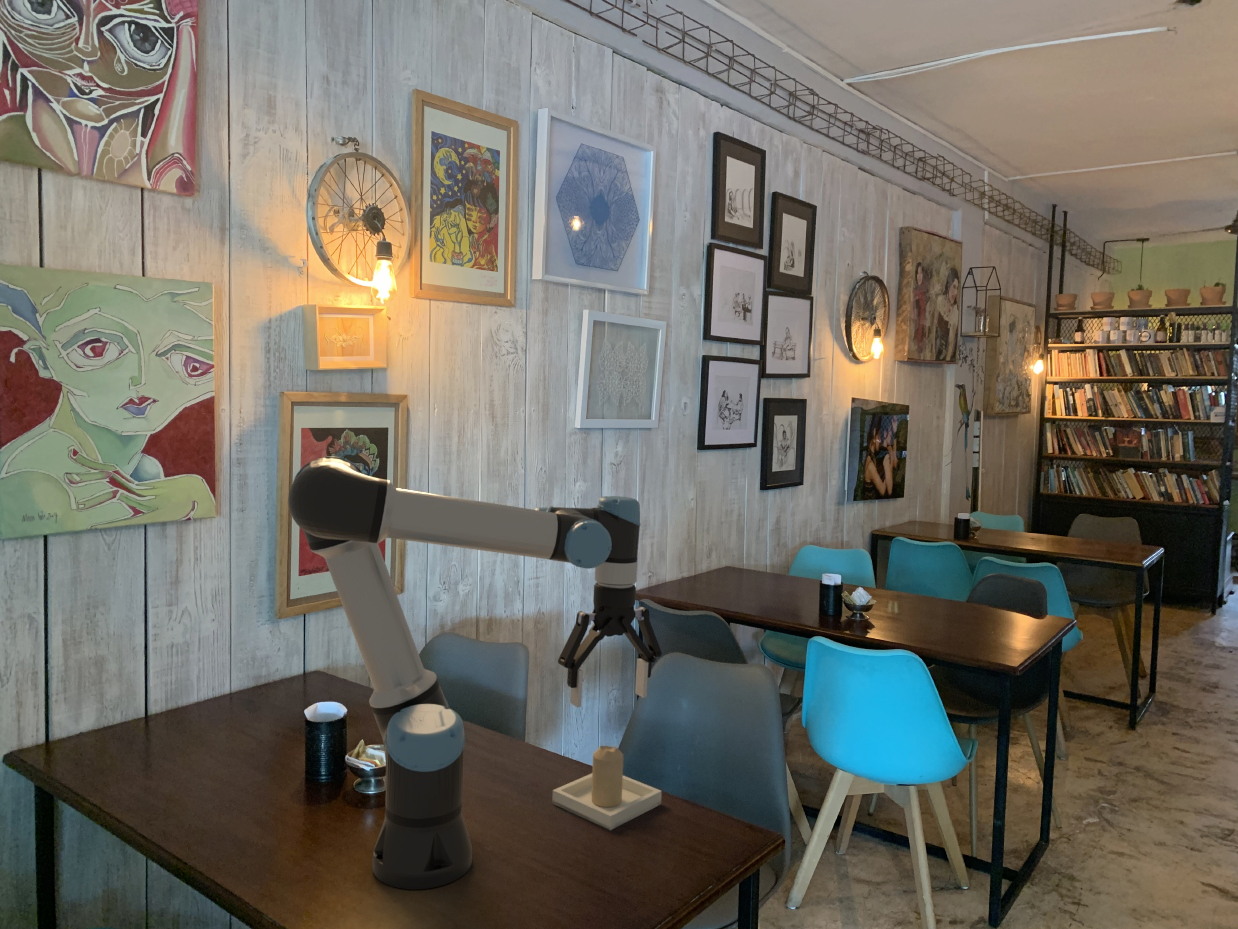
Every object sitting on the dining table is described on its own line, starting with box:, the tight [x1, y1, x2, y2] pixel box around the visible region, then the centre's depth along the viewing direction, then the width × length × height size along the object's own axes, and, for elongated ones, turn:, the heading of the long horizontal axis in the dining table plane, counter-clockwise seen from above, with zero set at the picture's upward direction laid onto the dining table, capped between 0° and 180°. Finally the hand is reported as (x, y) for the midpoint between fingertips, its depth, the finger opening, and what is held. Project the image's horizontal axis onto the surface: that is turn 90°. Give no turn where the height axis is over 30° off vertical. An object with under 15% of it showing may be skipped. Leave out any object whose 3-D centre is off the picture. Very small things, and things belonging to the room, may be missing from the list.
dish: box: [551, 772, 663, 831], centre depth 160 cm, size 14×14×2 cm
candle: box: [591, 745, 624, 807], centre depth 159 cm, size 6×6×10 cm
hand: (608, 700), depth 158 cm, fingers open, 13 cm apart
